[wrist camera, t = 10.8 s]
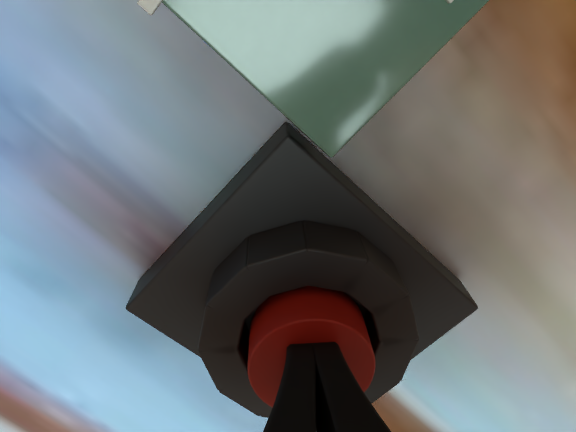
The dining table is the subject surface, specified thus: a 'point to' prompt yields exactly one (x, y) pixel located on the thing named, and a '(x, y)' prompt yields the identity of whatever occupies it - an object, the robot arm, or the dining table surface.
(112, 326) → the dining table surface
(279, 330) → the button
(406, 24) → the panel
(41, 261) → the dining table surface
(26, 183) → the dining table surface
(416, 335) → the button housing
